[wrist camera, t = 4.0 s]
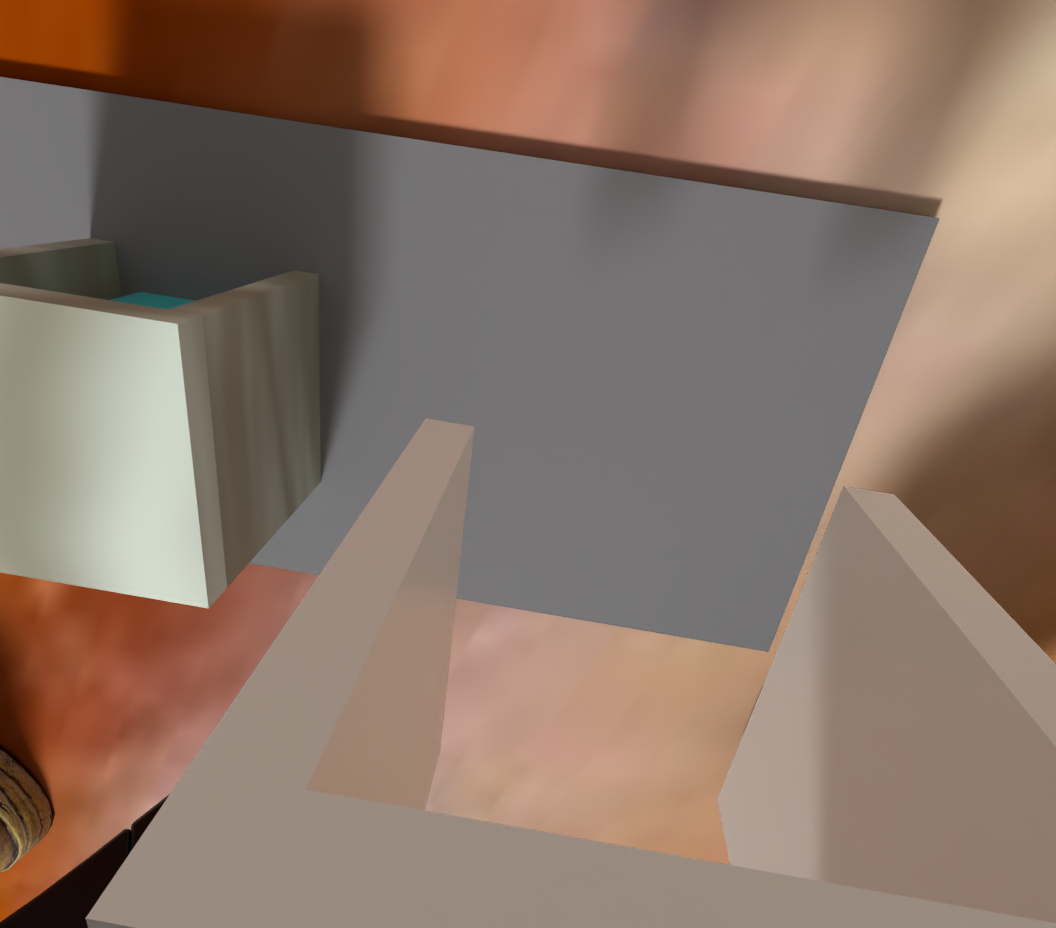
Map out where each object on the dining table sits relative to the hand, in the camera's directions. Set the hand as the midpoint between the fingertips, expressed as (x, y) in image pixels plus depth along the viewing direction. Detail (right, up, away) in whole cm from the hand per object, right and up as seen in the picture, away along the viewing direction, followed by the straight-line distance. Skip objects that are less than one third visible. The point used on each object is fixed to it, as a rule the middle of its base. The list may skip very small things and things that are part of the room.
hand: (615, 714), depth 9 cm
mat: (-5, +6, +10) cm, 13 cm away
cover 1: (-11, +6, +10) cm, 16 cm away
